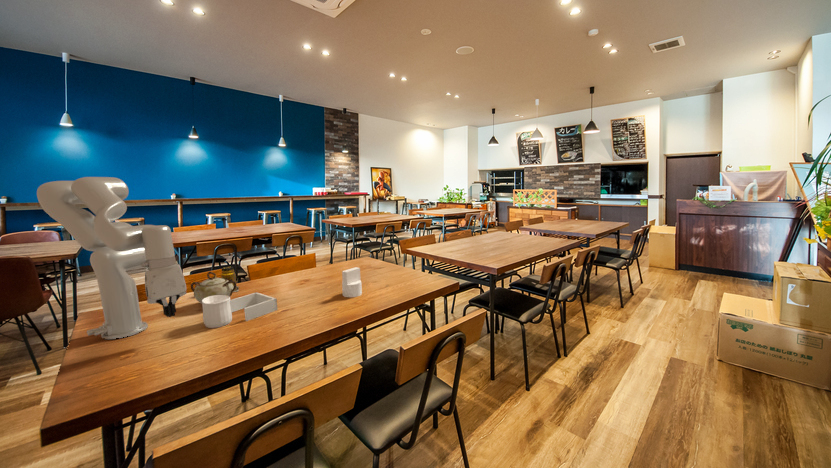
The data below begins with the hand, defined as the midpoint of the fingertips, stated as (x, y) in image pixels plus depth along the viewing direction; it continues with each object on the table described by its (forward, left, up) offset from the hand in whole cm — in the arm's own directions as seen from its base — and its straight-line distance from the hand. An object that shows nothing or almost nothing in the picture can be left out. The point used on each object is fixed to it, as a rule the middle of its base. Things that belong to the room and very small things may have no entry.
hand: (170, 315), depth 109 cm
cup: (+15, +1, -9) cm, 17 cm away
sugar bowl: (+24, +23, -9) cm, 34 cm away
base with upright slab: (+66, -19, -9) cm, 69 cm away
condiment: (+37, +37, -9) cm, 53 cm away
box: (+28, +1, -9) cm, 29 cm away
